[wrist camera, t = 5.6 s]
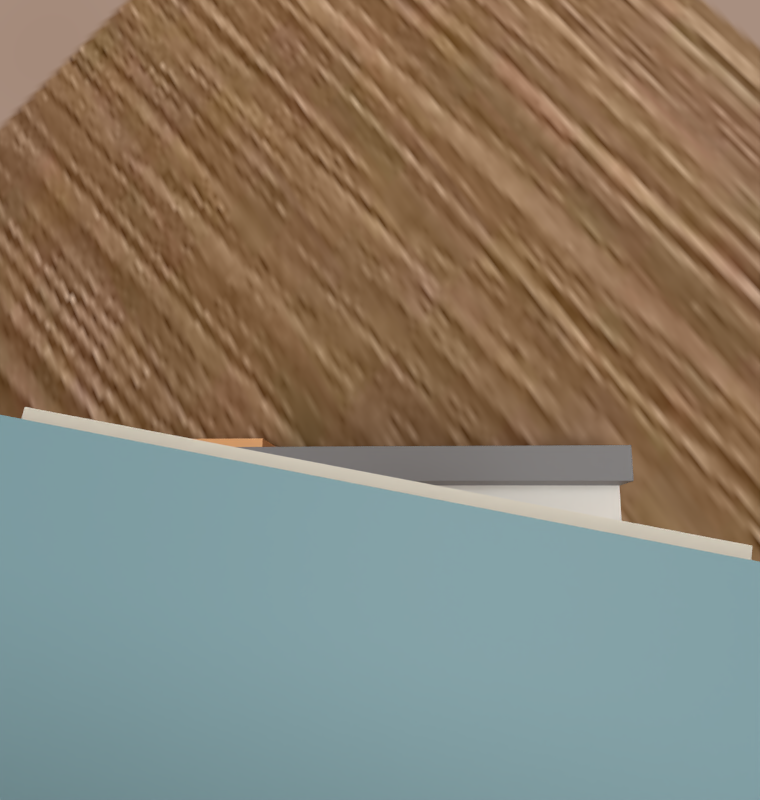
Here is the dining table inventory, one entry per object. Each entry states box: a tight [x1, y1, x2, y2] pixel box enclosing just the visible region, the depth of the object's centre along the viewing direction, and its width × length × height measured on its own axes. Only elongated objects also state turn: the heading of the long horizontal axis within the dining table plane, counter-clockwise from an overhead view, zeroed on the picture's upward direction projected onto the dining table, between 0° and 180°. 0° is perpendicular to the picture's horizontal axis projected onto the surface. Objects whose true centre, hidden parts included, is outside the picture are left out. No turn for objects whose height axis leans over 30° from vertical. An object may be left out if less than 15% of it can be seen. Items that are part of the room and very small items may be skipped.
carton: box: [0, 407, 760, 800], centre depth 9 cm, size 5×5×13 cm
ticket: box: [195, 438, 276, 447], centre depth 22 cm, size 1×4×2 cm, turn 88°
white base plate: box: [237, 445, 633, 521], centre depth 20 cm, size 13×18×3 cm
